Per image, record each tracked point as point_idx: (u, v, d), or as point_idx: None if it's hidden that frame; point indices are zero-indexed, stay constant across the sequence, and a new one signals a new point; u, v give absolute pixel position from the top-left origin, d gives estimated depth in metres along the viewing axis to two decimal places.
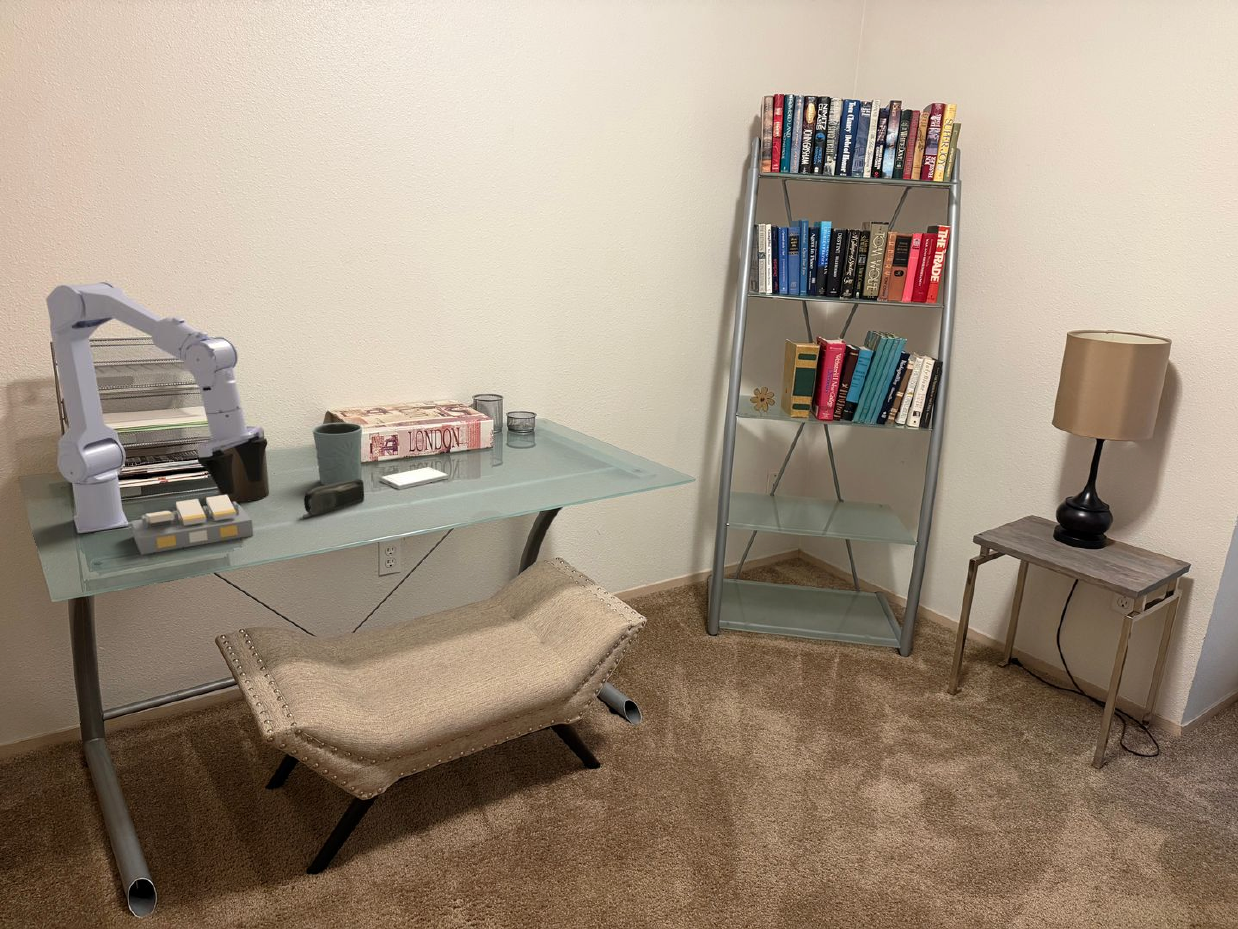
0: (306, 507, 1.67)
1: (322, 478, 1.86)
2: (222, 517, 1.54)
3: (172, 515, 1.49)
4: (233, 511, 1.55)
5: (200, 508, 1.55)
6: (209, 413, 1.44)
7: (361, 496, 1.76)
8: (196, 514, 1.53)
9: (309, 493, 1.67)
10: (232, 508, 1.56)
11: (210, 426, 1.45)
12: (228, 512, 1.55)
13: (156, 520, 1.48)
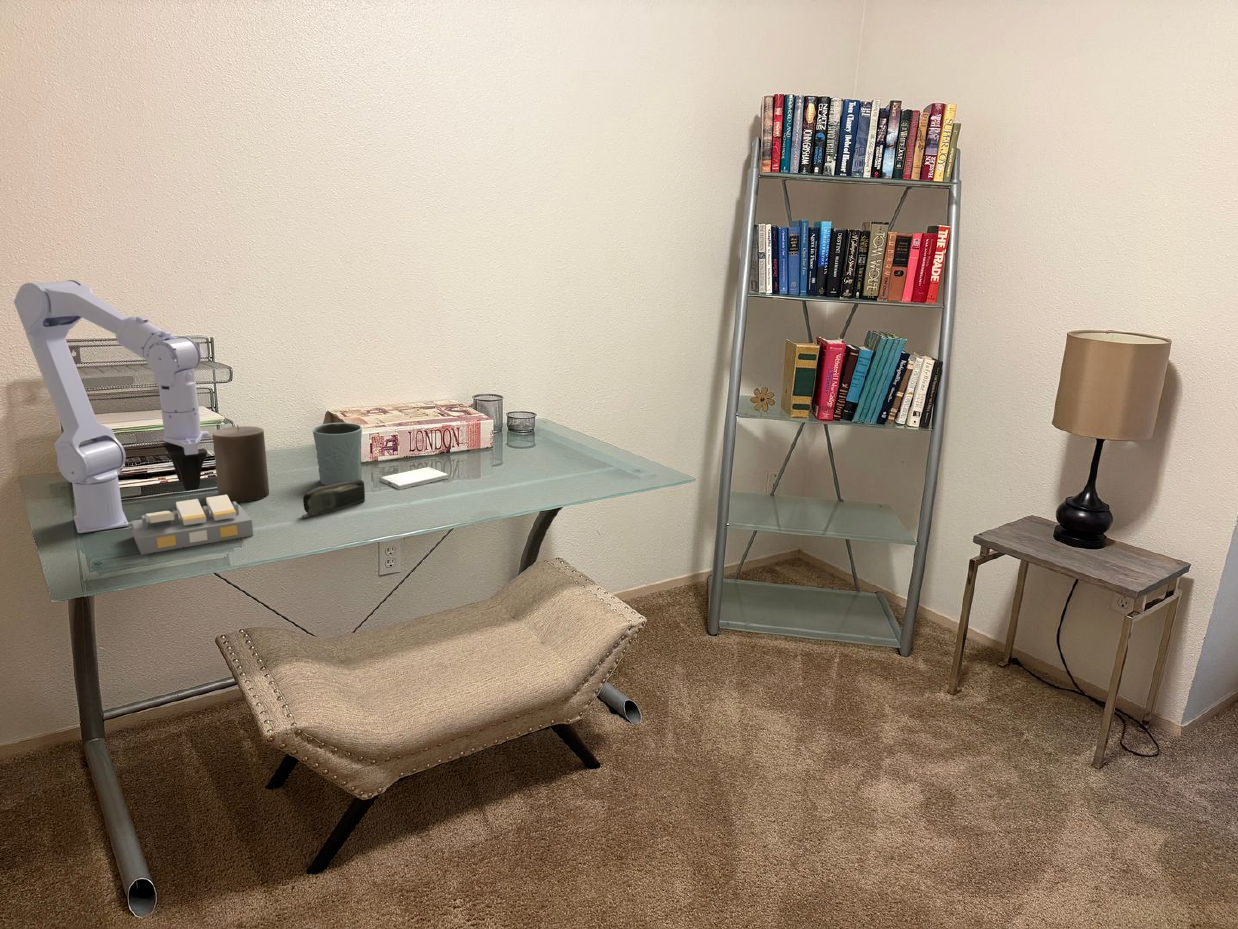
0: (305, 507, 1.67)
1: (322, 478, 1.86)
2: (222, 517, 1.54)
3: (172, 515, 1.49)
4: (233, 511, 1.55)
5: (200, 508, 1.55)
6: (178, 412, 1.46)
7: (362, 497, 1.76)
8: (196, 514, 1.53)
9: (308, 493, 1.67)
10: (232, 508, 1.56)
11: (175, 425, 1.46)
12: (228, 512, 1.55)
13: (156, 520, 1.48)
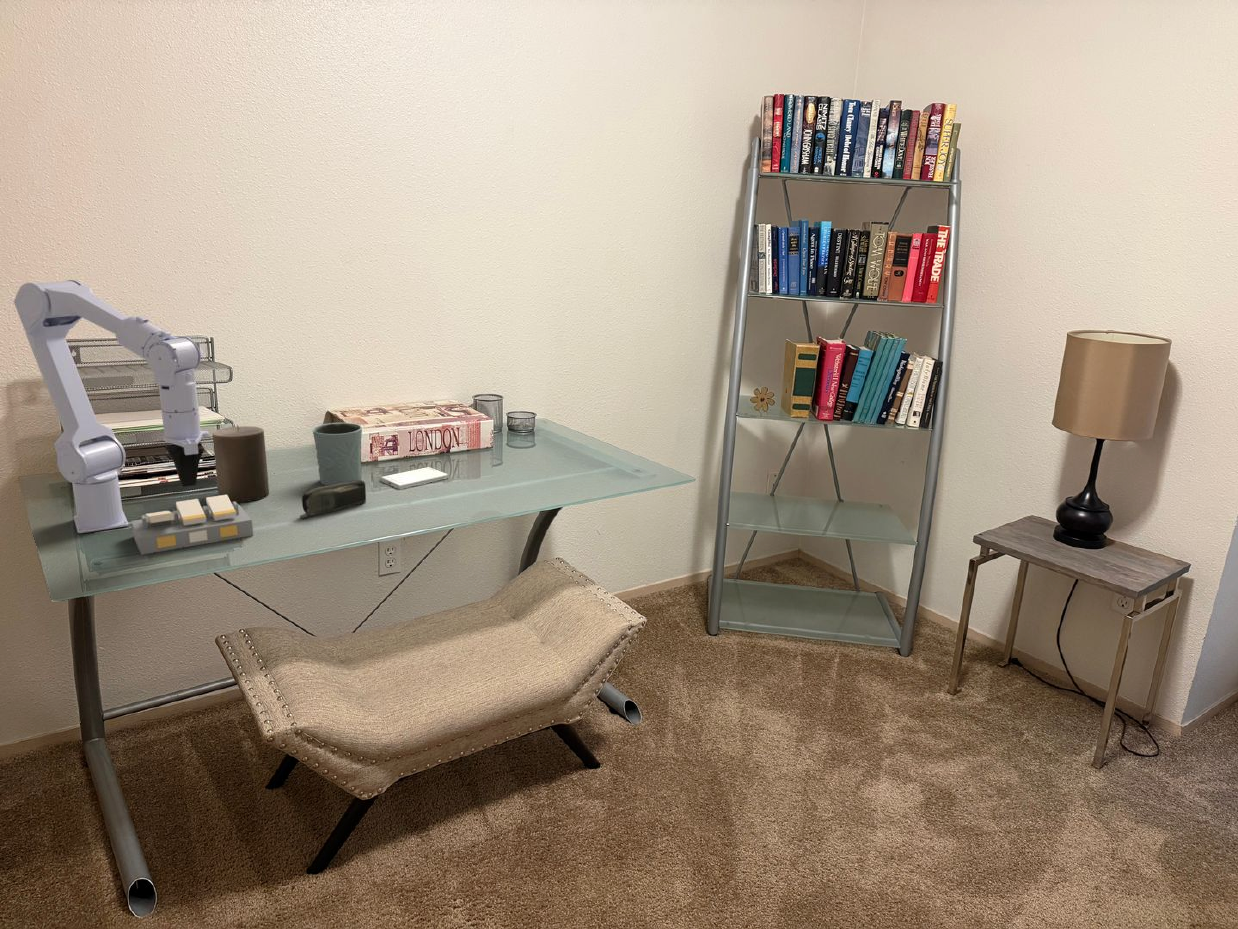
0: (304, 507, 1.67)
1: (322, 478, 1.86)
2: (222, 517, 1.54)
3: (172, 515, 1.49)
4: (233, 511, 1.55)
5: (200, 508, 1.55)
6: (178, 412, 1.46)
7: (362, 498, 1.75)
8: (196, 514, 1.53)
9: (307, 493, 1.66)
10: (232, 508, 1.56)
11: (175, 425, 1.46)
12: (228, 512, 1.55)
13: (156, 520, 1.48)
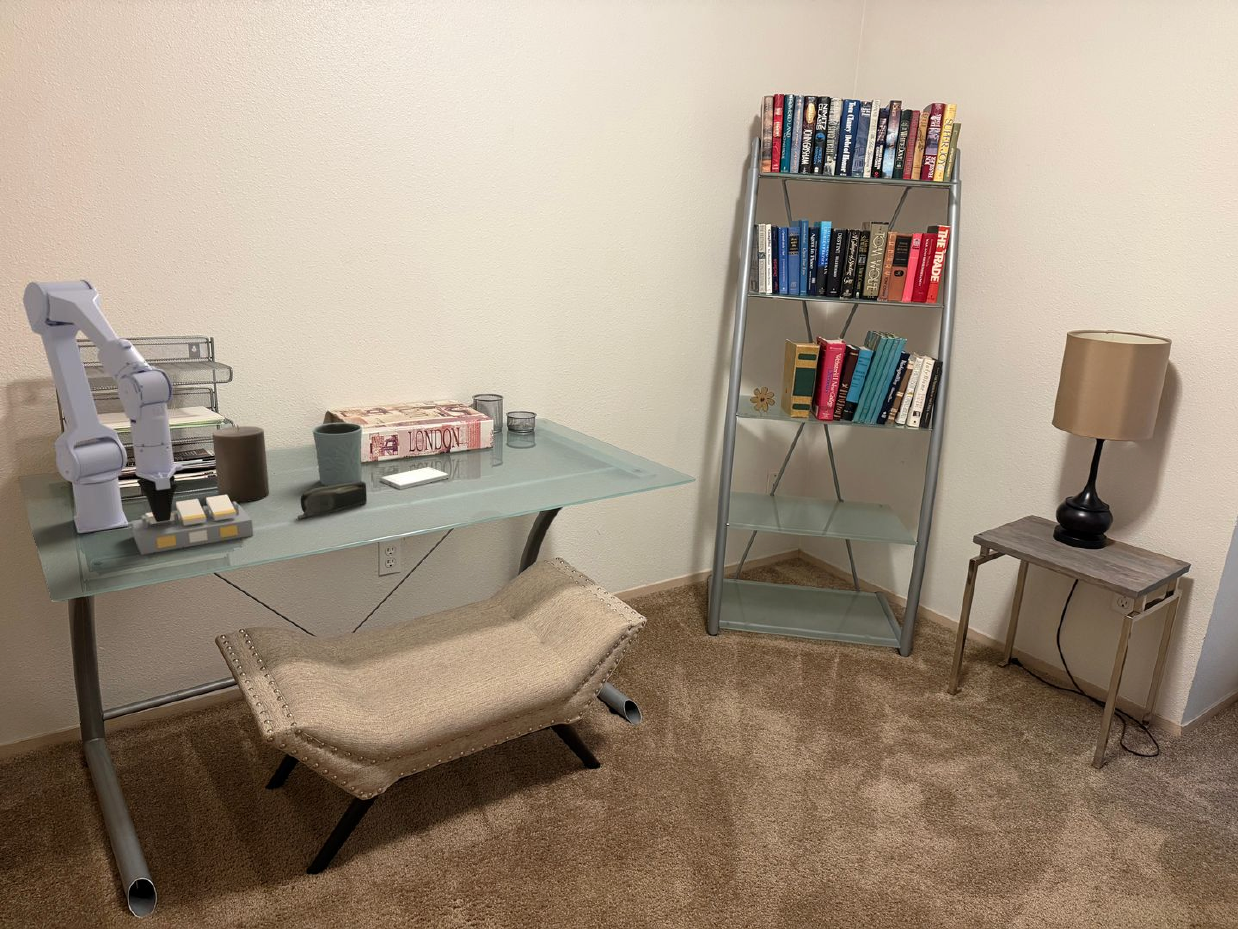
0: (302, 508, 1.66)
1: (322, 478, 1.86)
2: (222, 517, 1.54)
3: (172, 516, 1.49)
4: (233, 511, 1.55)
5: (200, 508, 1.55)
6: (150, 446, 1.43)
7: (363, 499, 1.74)
8: (196, 514, 1.53)
9: (305, 494, 1.66)
10: (232, 508, 1.56)
11: (147, 459, 1.43)
12: (228, 512, 1.55)
13: None
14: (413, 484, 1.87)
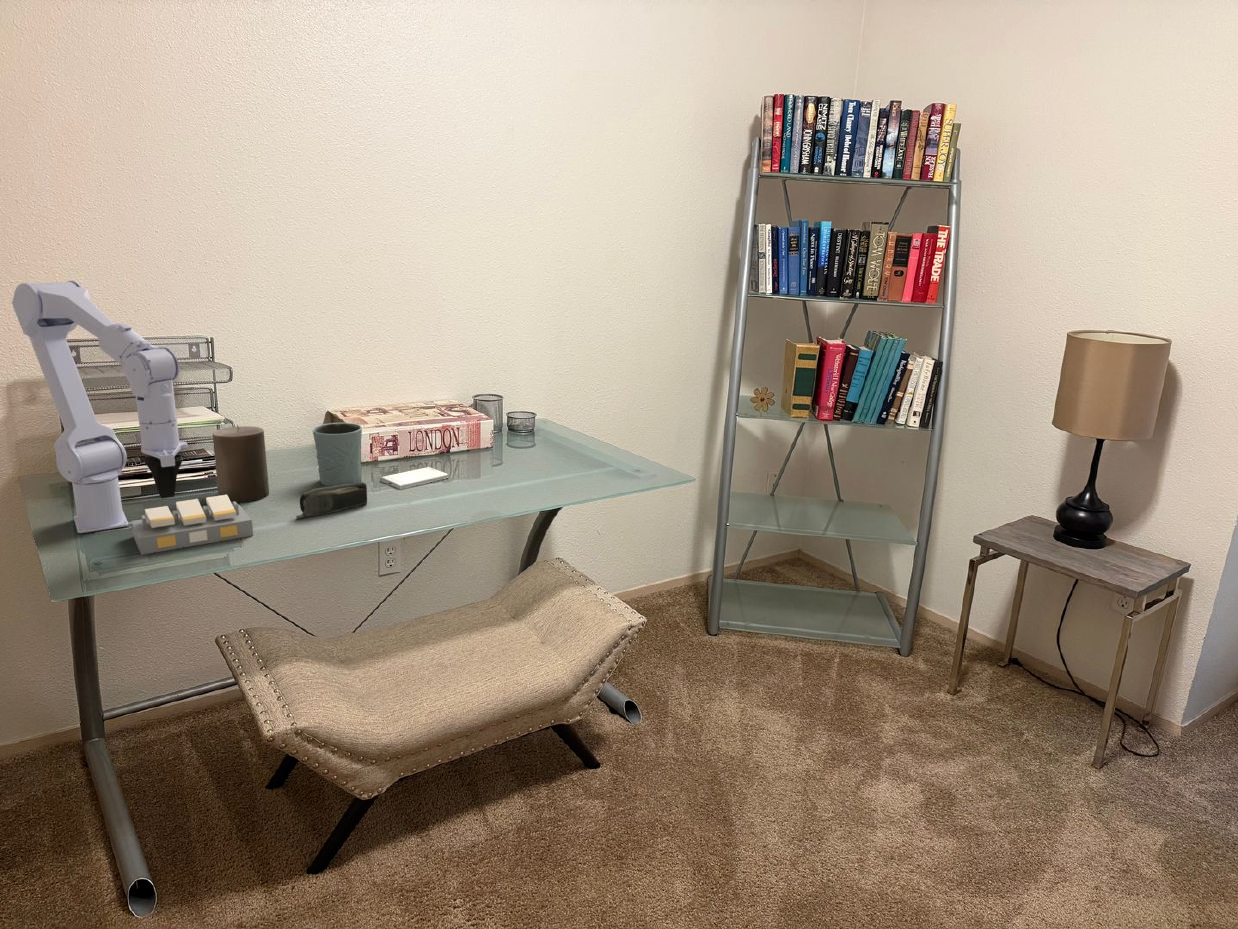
0: (301, 508, 1.66)
1: (322, 478, 1.86)
2: (222, 517, 1.54)
3: (173, 520, 1.50)
4: (233, 511, 1.55)
5: (200, 508, 1.55)
6: (155, 423, 1.44)
7: (363, 500, 1.74)
8: (196, 514, 1.53)
9: (304, 494, 1.66)
10: (232, 508, 1.56)
11: (152, 436, 1.45)
12: (228, 512, 1.55)
13: (157, 525, 1.48)
14: (413, 484, 1.87)
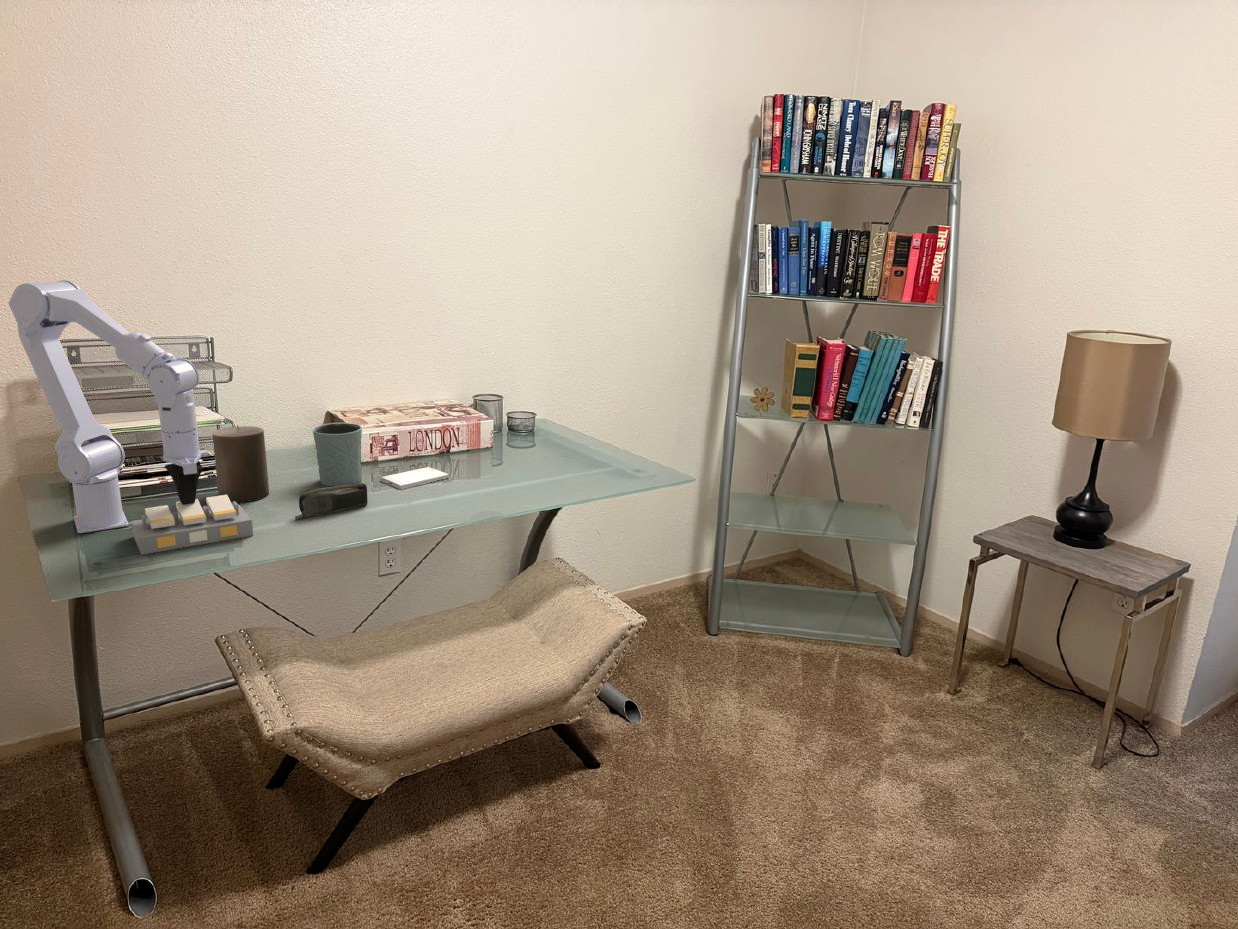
0: (300, 508, 1.66)
1: (322, 478, 1.86)
2: (222, 517, 1.54)
3: (173, 521, 1.50)
4: (233, 511, 1.55)
5: (200, 508, 1.55)
6: (177, 432, 1.50)
7: (363, 501, 1.73)
8: (196, 514, 1.53)
9: (304, 494, 1.66)
10: (232, 508, 1.56)
11: (174, 445, 1.50)
12: (228, 512, 1.55)
13: (157, 526, 1.48)
14: (414, 484, 1.87)
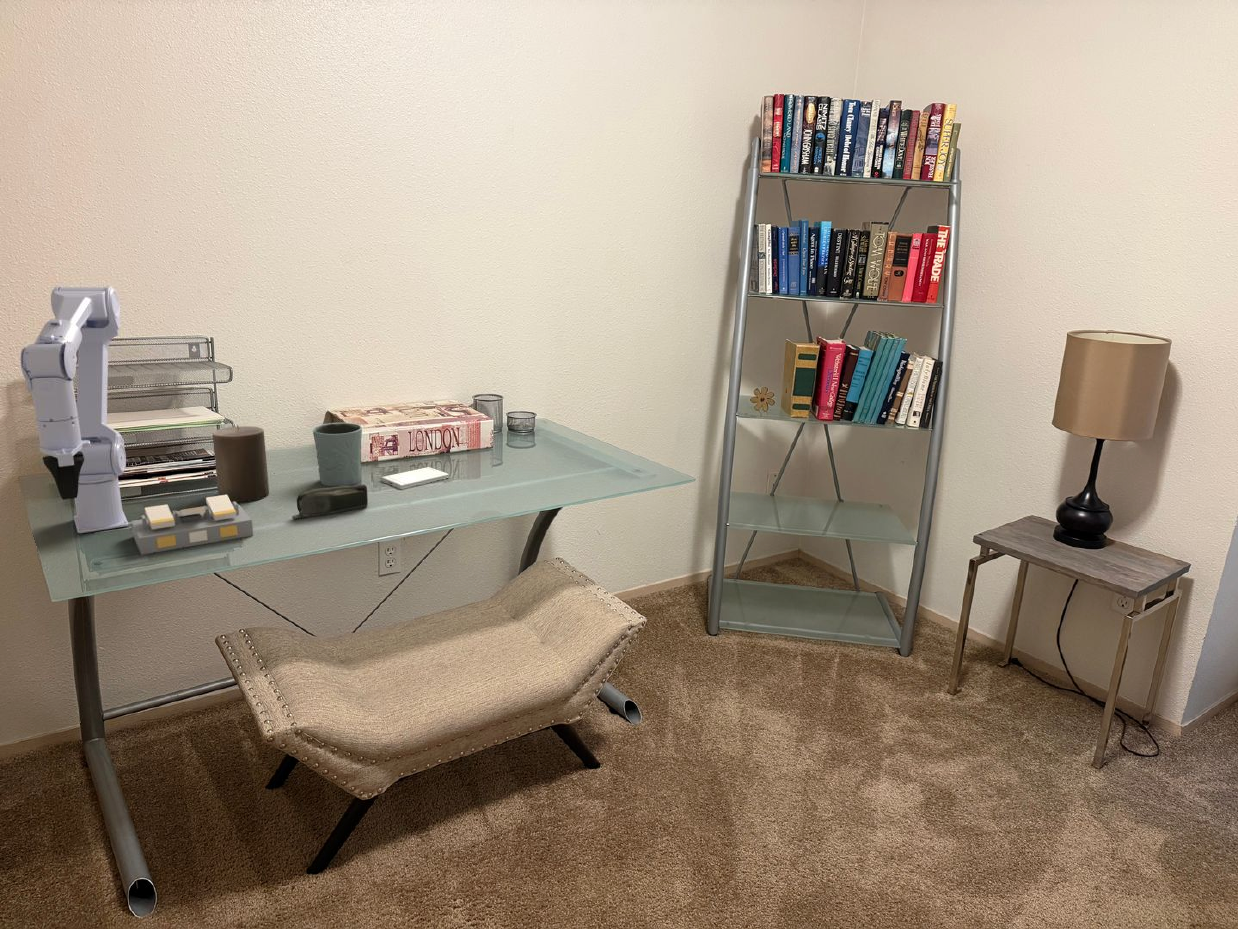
0: (298, 508, 1.66)
1: (322, 478, 1.86)
2: (222, 517, 1.54)
3: (173, 522, 1.50)
4: (233, 511, 1.55)
5: None
6: (53, 421, 1.37)
7: (362, 503, 1.72)
8: None
9: (301, 494, 1.66)
10: (232, 508, 1.56)
11: (50, 434, 1.38)
12: (228, 512, 1.55)
13: (157, 527, 1.48)
14: (414, 484, 1.87)
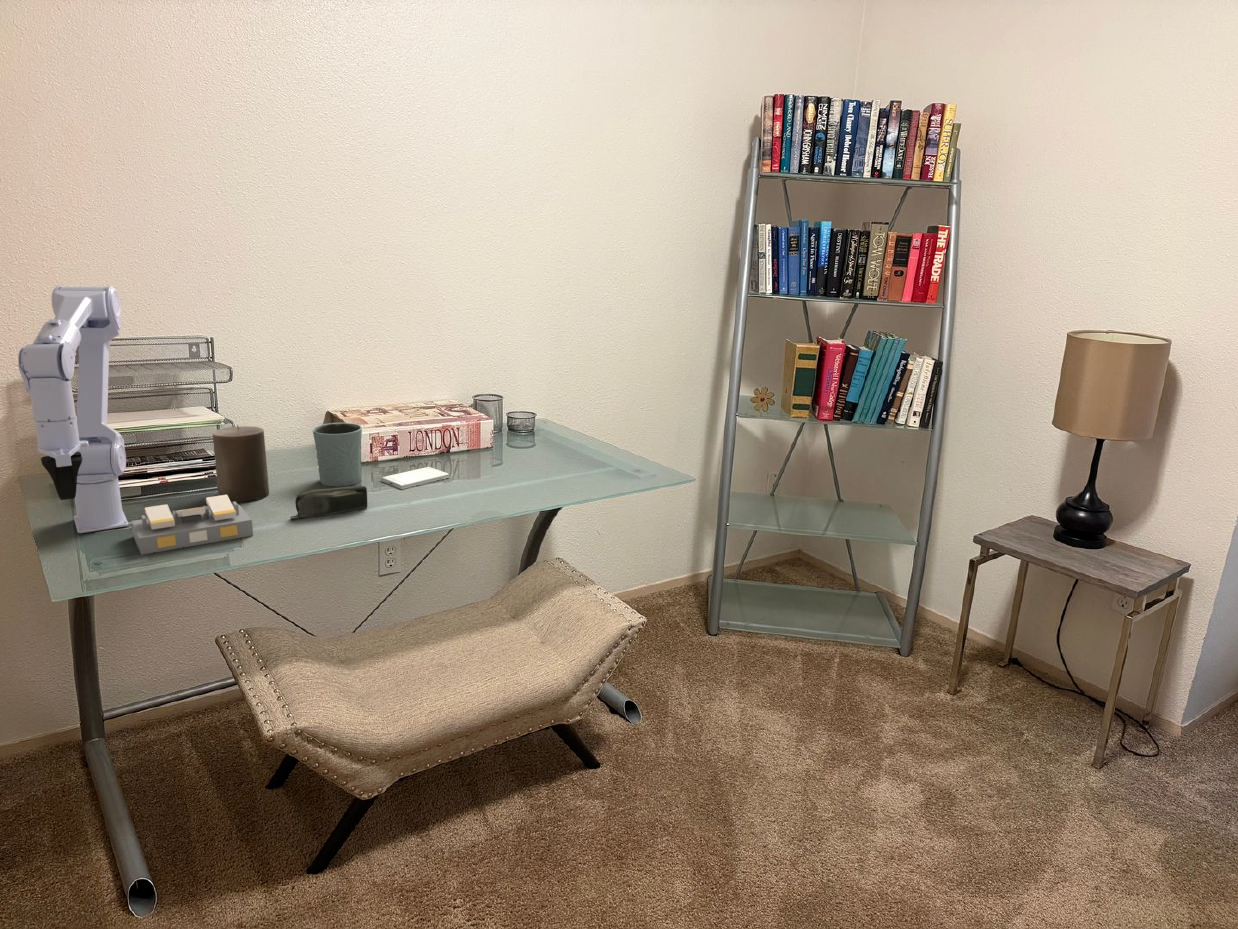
0: (296, 509, 1.66)
1: (322, 478, 1.86)
2: (222, 517, 1.54)
3: (173, 522, 1.50)
4: (233, 511, 1.55)
5: None
6: (51, 421, 1.37)
7: (362, 504, 1.71)
8: None
9: (300, 495, 1.66)
10: (232, 508, 1.56)
11: (48, 435, 1.38)
12: (228, 512, 1.55)
13: (157, 527, 1.48)
14: (414, 484, 1.87)
